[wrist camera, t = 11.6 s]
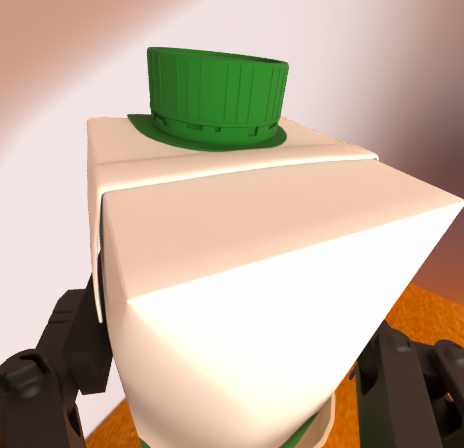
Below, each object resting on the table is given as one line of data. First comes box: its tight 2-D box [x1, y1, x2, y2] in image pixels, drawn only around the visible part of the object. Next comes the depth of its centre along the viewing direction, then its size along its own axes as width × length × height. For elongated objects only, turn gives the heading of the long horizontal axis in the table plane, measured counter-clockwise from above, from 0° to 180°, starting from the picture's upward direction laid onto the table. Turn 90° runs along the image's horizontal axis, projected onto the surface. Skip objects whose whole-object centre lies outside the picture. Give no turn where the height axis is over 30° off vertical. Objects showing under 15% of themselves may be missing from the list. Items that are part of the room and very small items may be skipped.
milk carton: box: [87, 47, 464, 448], centre depth 12 cm, size 9×9×20 cm
